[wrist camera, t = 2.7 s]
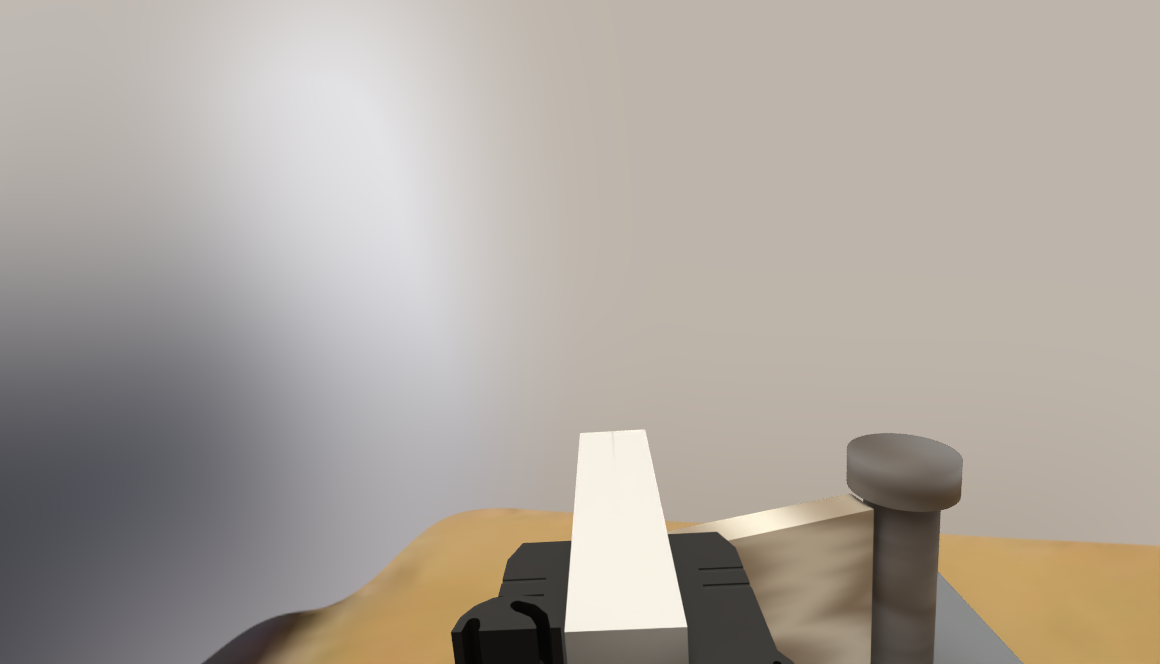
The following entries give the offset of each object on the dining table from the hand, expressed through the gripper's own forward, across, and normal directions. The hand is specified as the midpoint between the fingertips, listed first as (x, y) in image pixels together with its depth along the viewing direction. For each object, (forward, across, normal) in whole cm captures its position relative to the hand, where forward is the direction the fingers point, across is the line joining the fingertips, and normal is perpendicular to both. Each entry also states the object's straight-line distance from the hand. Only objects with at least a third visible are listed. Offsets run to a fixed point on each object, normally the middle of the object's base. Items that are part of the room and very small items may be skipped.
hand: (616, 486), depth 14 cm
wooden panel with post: (+10, +7, -17) cm, 21 cm away
